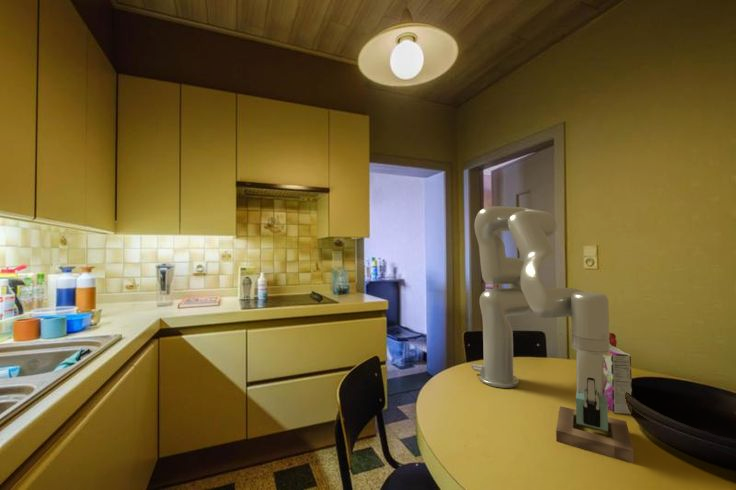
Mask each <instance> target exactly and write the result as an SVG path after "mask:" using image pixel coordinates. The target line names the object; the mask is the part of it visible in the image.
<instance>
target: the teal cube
mask: <svg viewBox="0 0 736 490" xmlns="http://www.w3.org/2000/svg"><path fill="white" fill-rule="evenodd" d="M575 391H576V393H575V410H576V423H577V424H581V425H585V426H589V427H593V428H597V429H601V430H605V431H608V417H609V415H608V409H609V408H608V407H607V398H606V395H604V394H602V397H600V398H598V399H599V409H600V427H595V426H591V425H587V424H584V422H583V406H584V392H583V393H578V392H577V388H576V390H575ZM586 393H588V391H586ZM595 395H596V393H595ZM587 399H588V396H587ZM595 400H596V398H595Z"/></svg>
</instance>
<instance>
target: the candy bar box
mask: <svg viewBox="0 0 736 490" xmlns="http://www.w3.org/2000/svg"><path fill="white" fill-rule="evenodd" d="M609 348H610V353H608V354H603V390H602V394H604V395H606V398H607V407H608V409H609V410H610V411H611V412H612V413H613V414H616V415H617V414H618V415H621V414H622V415H629V416H630V415H631V414H630V411H629V409H628V406H627V404H626V399H625V393H626V392H627V393H629V394H630V395H632V396H633V387H632V386H633V382H632V379H633V378H632V354H630V353H627V352H625V351H624V350H621V349H620V348H618V347H617V346H616V347H615V346H613V345H611V344H609Z"/></svg>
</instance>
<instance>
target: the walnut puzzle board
mask: <svg viewBox="0 0 736 490" xmlns="http://www.w3.org/2000/svg"><path fill="white" fill-rule="evenodd" d="M557 415H558V417H557V423H556V429H555V432H556V433H555V434H556V442H558V443H562V444H565V445H568V446H569V445H570V446H572V447H577V448H579V449H583V450H587V451H590V452H593V453H597V454H599V455H600V454H601V455H603V456H604V455H605V456H608V457H611V458H614V459H617V460H622V461H626V462H629V463H632V464H634V463H635V459H634V458H635V456H634V455H635V454H634V453H635V452H634V448H633V444H632V443H633V442H632V440H631V436H630V431H629V426H628V423H627V421H626V420H622V419H617V418H614V417H609V416H608V431H605V430H601V429H597V428H593V427H589V426H585V425H581V424H577V423H576V408H570V407H565V406H562V405H559V411H558V414H557ZM575 425H576V426H580V427H582V428H583V427H584V428H587V429H592V430H595V431H600V432H603V433H605V434H606V433H607V434H610V436H611V437H608V436H605V435H600V434H596V433H593V432H590V431H586V430H585V431H584V430H581V429H578V428H574V427H575Z"/></svg>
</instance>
